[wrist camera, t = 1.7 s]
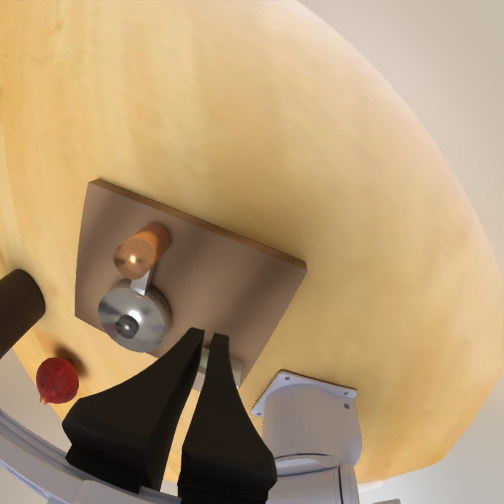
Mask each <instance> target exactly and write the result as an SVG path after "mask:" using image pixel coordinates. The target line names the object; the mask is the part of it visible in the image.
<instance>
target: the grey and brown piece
mask: <svg viewBox="0 0 504 504" xmlns="http://www.w3.org/2000/svg"><path fill="white" fill-rule="evenodd" d="M170 244H171V237H170V234H169V232H168V230H167V229H166V228H165V227H164V226H163V225H161V224H159V223H149V224H147V225H146V226H144V227H143V228H142V229H140V230H139V231H138V232H136V233H135V234H134V235H132V236H131V237H130V238H128V239H127V240H126V241H124V242H123V243H122V244H120V245H119V246H118V247H117V248H116V249H115V252H114V264H115V266H116V268H117V270H118V271H119V272H120V273H121V274H122V275H123V276H124V277H126V278H128V279H127V280H122V281H120V282H118V283H116V284H115V285H114V286H113V287H112V288H111V289H110V290H109V291H108V292H107V293H106V294H105V295H104V296H103V298H102V299H101V301H100V303H99V306H98V315H99V319H100V322H101V324H102V326H103V328H104V330H105V331H106V332H107V334H108V335H109V336H110V337H111V338H112V339H113V340H114V341H115V342H117V343H118V344H119V345H121V346H123V347H124V348H126V349H129V350H132V351H135V352H150V351H153V350H155V349H157V348H158V347H159V346H160V344H161V343H162V341H163V339H164V337H165V335H166V333H167V331H168V329H169V327H170V325H171V312H170V309H169V306H168V304H167V302H166V301H165V299H164V298H163V297H162V295H161V294H160V293H159V292H158V291H157V290H155V289H154V288H153V287H151V286H150V282H151V278H152V274H153V270H154V266H155V263H156V262H157V261H158V260H159V259H160V257H161V256H162V255H163V254H164V253H165V252H166V251H167V250H168V248H169V247H170Z"/></svg>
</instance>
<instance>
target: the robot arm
mask: <svg viewBox="0 0 504 504" xmlns="http://www.w3.org/2000/svg"><path fill="white" fill-rule="evenodd" d="M204 334H205V330H202V329H198V328H194V327H191V328H189V329H188V331H187V332H186V333H185V334H184V335H183V336H182V338H181V339H180V340H179V341H178V342H177V343H176V344H175V345H174V346H173V347H172V348H171V349H169V350H168V351H167V352H166V353H165V354H164V355H163V356H162V357H160V358H159V359H158V360H157V361H155V362H154V363H153V364H152V365H150V366H149V367H147V368H146V369H145V370H143V371H142V372H140V373H139V374H137V375H135V376H133V377H132V378H130V379H128V380H126V381H125V382H123V383H121V384H119V385H116V386H114V387H112V388H109V389H107V390H105V391H102V392H100V393H97V394H93V395H90V396H87V397H84V398H80V399H78V401H77V402H76V403H75V404H74V405H73V406H72V408H71V409H70V410H69V412H68V414H67V415H66V417H65V419H64V420H63V422H62V427H63V430H64V432H65V433H66V435H67V437H68V438H69V440H70V442H71V443H72V446H71V447H70V449H69V451H68V453H66V452H64V451H63V450H61V449H59V448H57V447H55V446H54V445H52V444H50V443H49V442H47V441H46V440H44V439H42V438H41V437H39V436H38V435H36V434H34V433H33V432H32V431H30V430H29V429H27V428H26V427H24V426H23V425H21V424H20V423H19V422H17V421H16V420H14V419H13V418H12V417H10V416H9V415H8V414H7V413H5V412H4V411H3V410H1V409H0V465H1V466H2V467H4V468H5V469H6V470H7V471H8V472H10V473H11V474H12V475H13V476H15V477H16V478H18V479H19V480H20V481H21V482H23V483H24V484H25V485H27V486H28V487H29V488H31V489H32V490H34V491H35V492H37V493H38V494H40V495H41V496H43V497H44V498H46V499H47V500H48V502H47V504H359V495H358V488H357V481H356V475H355V470H354V466H355V464H356V463H357V461H358V459H359V457H360V454H361V449H362V436H361V431H360V426H359V421H358V417H357V412H356V407H355V403H354V398H355V397H356V396H357V394H358V393H357V390H353V389H349V388H345V387H340V386H336V385H332V384H328V383H324V382H320V381H317V380H313V379H309V378H306V377H302V376H298V375H295V374H292V373H288V372H285V371H281V372H279V373H278V374H277V376H276V377H275V378H274V380H273V381H272V382H271V384H270V385H269V387H268V388H267V389H266V391H265V392H264V393H263V395H262V396H261V397H260V399H259V400H258V401H257V403H256V404H255V405H254V407H253V408H252V409H251V414H252V415H255V416H259V417H263V428H262V439H261V437H260V436H259V434H258V432H257V431H256V429H255V427H254V426H253V424H252V422H251V420H250V418H249V416H248V414H247V412H246V410H245V408H244V406H243V403H242V401H241V398H240V396H239V393H238V390H237V387H236V383H235V380H234V376H233V372H232V367H231V361H230V353H229V339H230V338H229V337H228V336H227V335H223V334H219V333H214V335H213V337H212V340H211V343H210V349H209V355H208V361H207V367H206V373H205V379H204V383H203V386H202V389H201V393H200V396H199V399H198V402H197V405H196V408H195V411H194V414H193V417H192V420H191V423H190V426H189V429H188V432H187V435H186V437H185V440H184V443H183V446H182V457H181V471H180V475H179V479H178V483H177V486H178V497H177V496H173V495H169V494H166V493H162V492H160V489H161V484H162V480H163V476H164V472H165V468H166V464H167V460H168V456H169V452H170V449H171V445H172V441H173V438H174V434H175V431H176V427H177V424H178V421H179V418H180V415H181V413H182V411H183V408H184V406H185V403H186V401H187V399H188V396H189V394H190V391H191V389H192V387H193V384H194V382H195V379H196V376H197V372H198V369H199V365H200V361H201V354H202V348H203V341H204ZM374 504H401V503H400V499H394V500H388V501H382V502H377V503H374Z"/></svg>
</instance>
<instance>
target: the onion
mask: <svg viewBox="0 0 504 504" xmlns="http://www.w3.org/2000/svg"><path fill="white" fill-rule="evenodd" d="M36 383H37V388H38V391H39V393H40V398H41V399H40V403H41V404H42V405H46V404H47V403H49V402H50V403H55V404H60V403H66V402H68V401H70V400H72V399H73V398H74V397H75V396H76V394H77V390H78V387H79V379H78V375H77V372H76V369H75V367H74V365H73V363H72V362H70V361H67V360H65V359H62V358H54V357H53V358H48V359H46V360H45V361H44V362H43V363H42V364H41V365H40V367H39V368H38V371H37V375H36Z"/></svg>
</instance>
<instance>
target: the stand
mask: <svg viewBox="0 0 504 504" xmlns="http://www.w3.org/2000/svg"><path fill="white" fill-rule="evenodd" d="M149 223H159V224H161V225H163V226H164V227H165V228H166V229H167V230H168V232H169V234H170V237H171V244H170V247H169V248H168V250H167V251H166V252H165V253H164V254H163V255H162V256H161V257H160V259H159V260H158V261H157V262H156V263H155V266H154V270H153V274H152V278H151V282H150V286H151V287H153V288H154V289H155V290H157V291H158V292H159V293H160V294H161V295H162V297H163V298H164V299H165V301H166V302H167V304H168V306H169V309H170V312H171V325H170V327H169V329H168V331H167V333H166V335H165V337H164V339H163V341H162V343H161V344H160V346H159V347H158V348H157V349H155V350H153V351H150V352H146V353H148V354H150V355H152V356H155V357H157V358H160V357H162V356H163V355H164V354H165V353H166V352H167V351H168V350H169V349H171V348H172V347H173V346H174V345H175V344H176V343H177V342H178V341H179V340H180V339H181V338H182V336H183V335H184V334H185V333H186V332H187V331H188V329H189V328H191V327H194V328H198V329H202V330H205V334H204V341H203V348H202V354H201V361H200V365H199V369H198V372H197V376H196V379H195V382H194V384H193V387H192V389H195V390H198V391H200V392H201V389H202V386H203V383H204V379H205V373H206V367H207V361H208V355H209V349H210V343H211V340H212V337H213V335H214V333H219V334H223V335H227V336H228V337H229V338H230V339H229V353H230V361H231V367H232V372H233V376H234V380H235V383H236V387H237V389H238V388H239V387H240V386H241V384H242V383H243V381H244V379H245V378H246V376H247V375H248V373H249V371H250V370H251V368H252V366H253V365H254V363H255V362H256V360H257V358H258V357H259V355H260V353H261V352H262V350H263V348H264V347H265V345H266V343H267V342H268V340H269V338H270V337H271V335H272V333H273V331H274V330H275V328H276V326H277V325H278V323H279V321H280V319H281V318H282V316H283V314H284V312H285V311H286V309H287V307H288V305H289V303H290V302H291V300H292V298H293V296H294V295H295V293H296V291H297V289H298V287H299V285H300V284H301V282H302V280H303V278H304V276H305V274H306V273H307V267H306V262H304V261H301V260H299V259H296V258H294V257H291V256H289V255H287V254H284V253H282V252H279V251H277V250H274V249H272V248H270V247H267V246H265V245H262V244H260V243H257V242H255V241H253V240H250V239H248V238H245V237H243V236H240V235H238V234H235V233H233V232H230V231H228V230H226V229H223V228H221V227H218V226H216V225H213V224H211V223H208V222H206V221H203V220H201V219H198V218H196V217H193V216H191V215H188V214H186V213H183V212H181V211H178V210H176V209H173V208H171V207H168V206H166V205H163V204H161V203H158V202H156V201H153V200H151V199H148V198H146V197H143V196H141V195H138V194H135V193H133V192H130V191H128V190H125V189H123V188H120V187H118V186H115V185H113V184H110V183H107V182H105V181H102V180H100V179H97V180H94V181H90V182H88V187H87V192H86V197H85V203H84V209H83V215H82V222H81V229H80V237H79V246H78V257H77V269H76V286H75V316H76V317H77V318H79V319H81V320H83V321H84V322H86V323H88V324H90V325H92V326H93V327H95V328H97V329H99V330H101V331H103V332H105V333H107V332H106V331H105V330H104V328H103V326H102V324H101V322H100V319H99V315H98V306H99V303H100V301H101V299H102V298H103V296H104V295H105V294H106V293H107V292H108V291H109V290H110V289H111V288H112V287H113V286H114V285H115V284H116V283H118V282H120V281H122V280H127V279H128V278H126V277H124V276H123V275H122V274H121V273H120V272H119V271H118V270H117V268H116V266H115V264H114V252H115V249H116V248H117V247H118V246H119V245H120V244H122V243H123V242H124V241H126V240H127V239H128V238H130V237H131V236H132V235H134V234H135V233H136V232H138V231H139V230H140V229H142V228H143V227H144V226H146V225H147V224H149Z"/></svg>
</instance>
